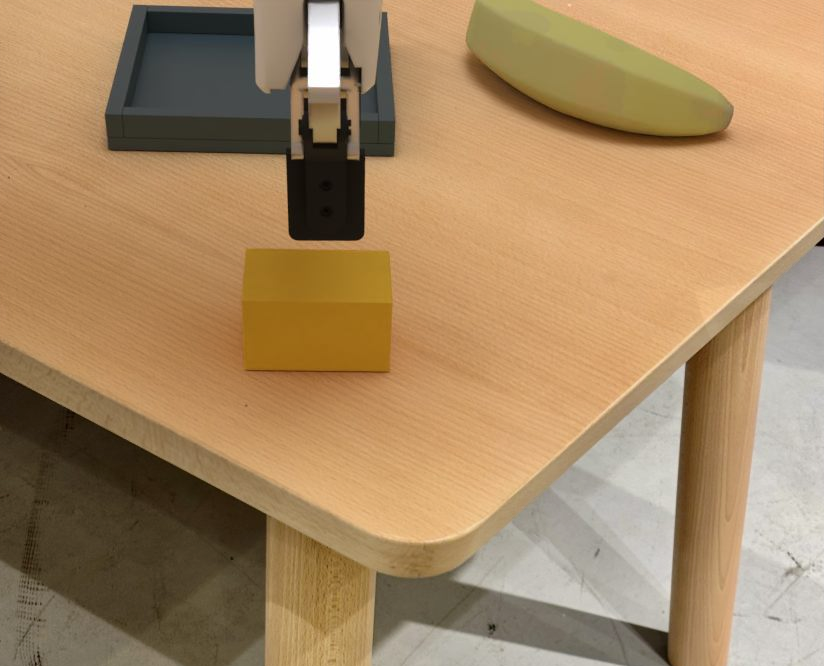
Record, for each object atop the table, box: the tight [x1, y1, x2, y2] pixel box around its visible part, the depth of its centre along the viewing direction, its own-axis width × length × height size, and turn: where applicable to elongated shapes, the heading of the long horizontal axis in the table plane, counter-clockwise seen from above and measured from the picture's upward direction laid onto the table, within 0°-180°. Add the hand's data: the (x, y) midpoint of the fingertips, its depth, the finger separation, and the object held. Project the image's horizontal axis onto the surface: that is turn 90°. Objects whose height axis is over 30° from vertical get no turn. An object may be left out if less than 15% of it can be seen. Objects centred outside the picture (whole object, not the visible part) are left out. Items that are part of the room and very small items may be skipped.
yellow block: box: [240, 247, 393, 373], centre depth 67 cm, size 7×5×4 cm, turn 93°
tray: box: [104, 4, 397, 157], centre depth 88 cm, size 17×16×2 cm
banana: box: [465, 0, 735, 137], centre depth 91 cm, size 14×6×20 cm
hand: (326, 181), depth 62 cm, fingers open, 9 cm apart
